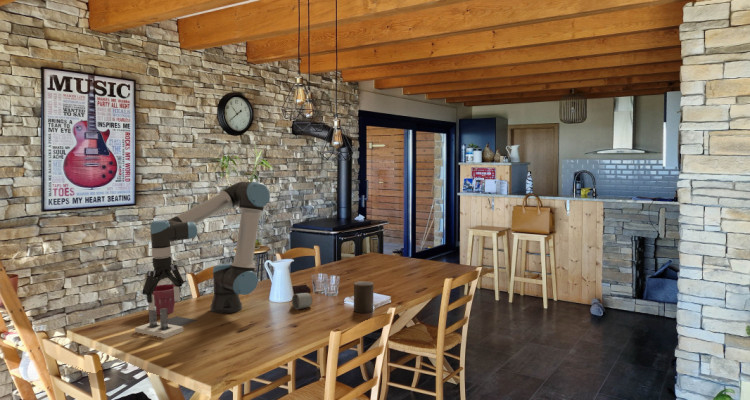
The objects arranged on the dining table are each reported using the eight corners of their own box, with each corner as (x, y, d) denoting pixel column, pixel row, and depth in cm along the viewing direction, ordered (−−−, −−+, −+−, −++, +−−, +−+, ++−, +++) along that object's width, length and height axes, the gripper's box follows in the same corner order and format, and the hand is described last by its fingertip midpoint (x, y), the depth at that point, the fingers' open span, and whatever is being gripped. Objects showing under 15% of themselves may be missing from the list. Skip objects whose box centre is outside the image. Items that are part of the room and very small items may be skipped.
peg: (164, 332, 230) (163, 307, 229) (169, 333, 229) (168, 308, 228) (159, 334, 227) (158, 309, 226) (164, 335, 226) (163, 310, 225)
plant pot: (143, 313, 259) (141, 287, 258) (171, 307, 269) (169, 282, 268) (155, 319, 249) (153, 292, 248) (183, 312, 259) (182, 287, 258)
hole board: (154, 326, 238) (154, 321, 238) (183, 332, 230) (183, 326, 230) (135, 333, 229) (134, 327, 229) (164, 339, 221) (164, 333, 221)
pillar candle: (361, 314, 254) (361, 283, 253) (349, 309, 262) (350, 279, 261) (377, 311, 260) (377, 281, 259) (365, 306, 268) (366, 277, 267)
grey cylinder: (313, 307, 266) (313, 292, 266) (299, 310, 261) (299, 295, 260) (302, 303, 274) (301, 289, 274) (288, 306, 269) (288, 291, 269)
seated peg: (154, 330, 233) (152, 305, 232) (158, 331, 232) (157, 306, 231) (148, 332, 230) (147, 307, 230) (153, 333, 229) (152, 308, 228)
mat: (176, 317, 252) (176, 316, 252) (198, 320, 246) (198, 320, 246) (152, 325, 240) (152, 324, 240) (174, 329, 234) (174, 328, 234)
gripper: (178, 250, 238) (181, 296, 240) (130, 262, 216) (134, 312, 218) (190, 251, 235) (193, 298, 237) (143, 263, 213) (146, 314, 215)
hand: (165, 305), depth 227 cm, fingers open, 13 cm apart
